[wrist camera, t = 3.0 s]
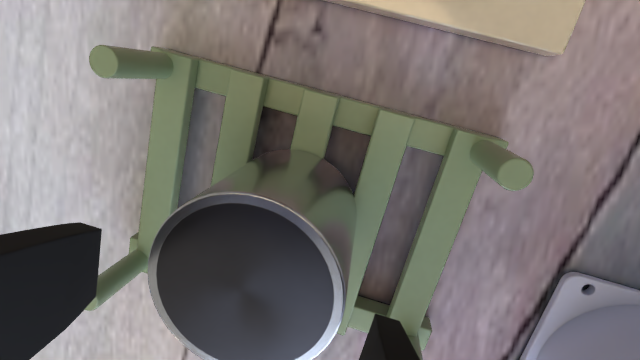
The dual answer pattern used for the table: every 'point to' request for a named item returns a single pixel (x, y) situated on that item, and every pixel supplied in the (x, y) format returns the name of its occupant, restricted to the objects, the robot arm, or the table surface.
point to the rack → (313, 136)
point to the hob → (488, 19)
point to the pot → (258, 261)
